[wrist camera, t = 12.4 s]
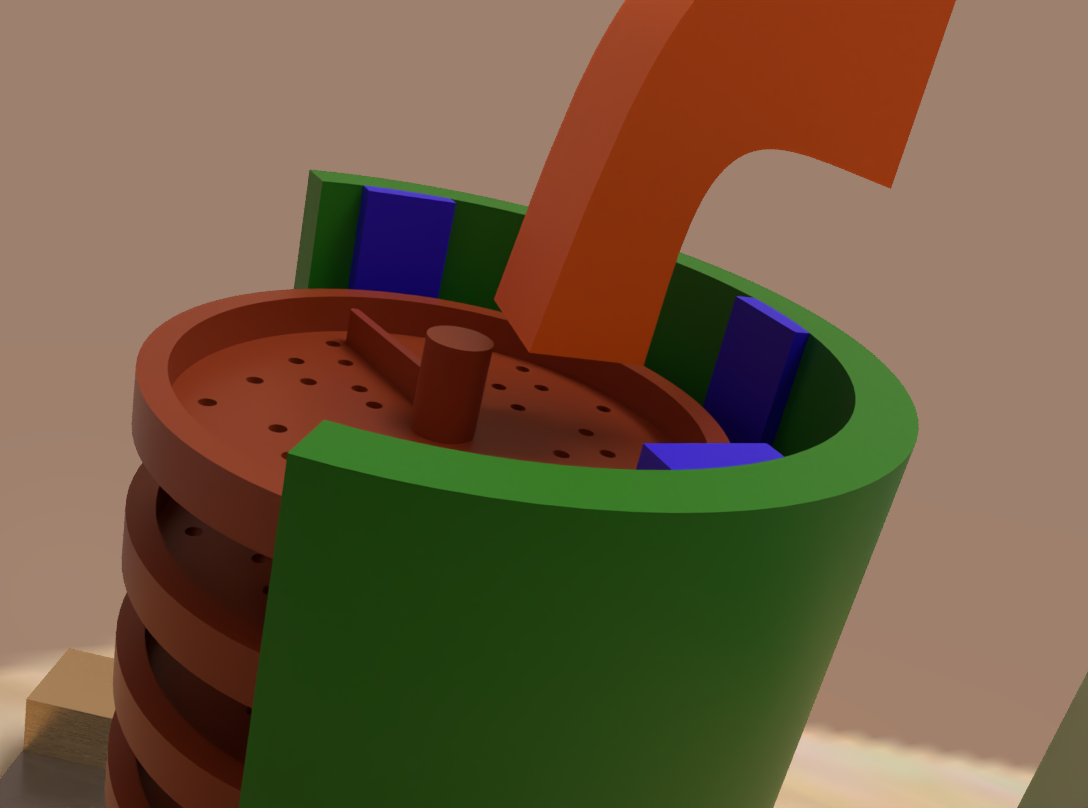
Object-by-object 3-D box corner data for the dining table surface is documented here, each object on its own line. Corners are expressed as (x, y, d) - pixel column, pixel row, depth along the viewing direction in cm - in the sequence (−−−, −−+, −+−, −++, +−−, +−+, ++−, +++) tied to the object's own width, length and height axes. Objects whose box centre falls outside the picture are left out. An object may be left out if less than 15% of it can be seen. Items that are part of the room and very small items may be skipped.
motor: (38, 950, 20) (123, -219, 13) (464, 866, 24) (711, -43, 17) (62, 1714, 12) (343, -349, 4) (699, 1382, 16) (1373, 53, 9)
